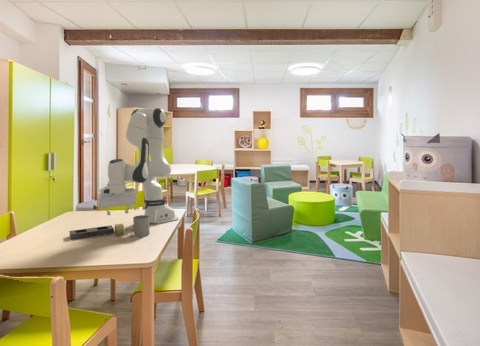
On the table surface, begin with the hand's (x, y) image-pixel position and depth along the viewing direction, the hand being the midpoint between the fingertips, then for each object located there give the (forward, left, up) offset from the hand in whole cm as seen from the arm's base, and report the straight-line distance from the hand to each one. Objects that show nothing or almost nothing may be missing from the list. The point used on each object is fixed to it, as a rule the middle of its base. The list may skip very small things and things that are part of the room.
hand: (117, 214), depth 187 cm
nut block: (0, 0, -12) cm, 12 cm away
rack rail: (+13, -9, -12) cm, 20 cm away
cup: (-11, +5, -12) cm, 17 cm away
